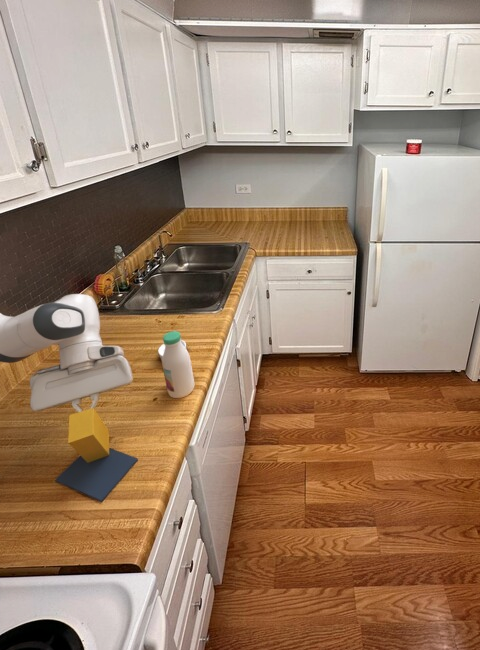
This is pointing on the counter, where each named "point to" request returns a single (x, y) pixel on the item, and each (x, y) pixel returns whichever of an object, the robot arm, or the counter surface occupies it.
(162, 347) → the ramekin
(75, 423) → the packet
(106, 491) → the mat
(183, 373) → the milk bottle
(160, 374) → the counter surface
